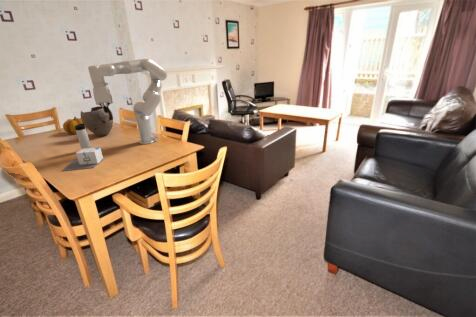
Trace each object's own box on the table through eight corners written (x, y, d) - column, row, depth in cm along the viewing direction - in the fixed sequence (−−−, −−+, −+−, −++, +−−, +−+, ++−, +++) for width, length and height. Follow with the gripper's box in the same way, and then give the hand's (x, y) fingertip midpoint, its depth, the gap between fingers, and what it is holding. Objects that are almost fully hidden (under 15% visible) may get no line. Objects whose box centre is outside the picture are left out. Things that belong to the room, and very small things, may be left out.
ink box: (103, 158, 162) (85, 159, 161) (100, 147, 159) (82, 148, 158) (97, 164, 154) (79, 165, 153) (94, 151, 151) (75, 152, 150)
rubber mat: (102, 157, 166) (102, 156, 166) (93, 167, 150) (93, 167, 149) (74, 159, 163) (74, 159, 163) (61, 171, 147) (61, 170, 147)
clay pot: (122, 133, 219) (115, 106, 209) (96, 141, 200) (87, 111, 191) (107, 130, 231) (100, 104, 221) (81, 137, 213) (72, 109, 203)
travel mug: (94, 149, 182) (86, 123, 174) (86, 152, 176) (78, 126, 168) (88, 148, 184) (80, 123, 176) (80, 151, 178) (72, 125, 170)
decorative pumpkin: (76, 129, 240) (71, 114, 234) (96, 129, 236) (91, 114, 231) (59, 135, 221) (54, 119, 215) (81, 135, 218) (76, 119, 212)
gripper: (112, 83, 164) (119, 110, 172) (89, 85, 162) (97, 112, 169) (110, 85, 158) (117, 112, 165) (85, 87, 155) (93, 114, 163)
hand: (107, 112), depth 167 cm, fingers closed
